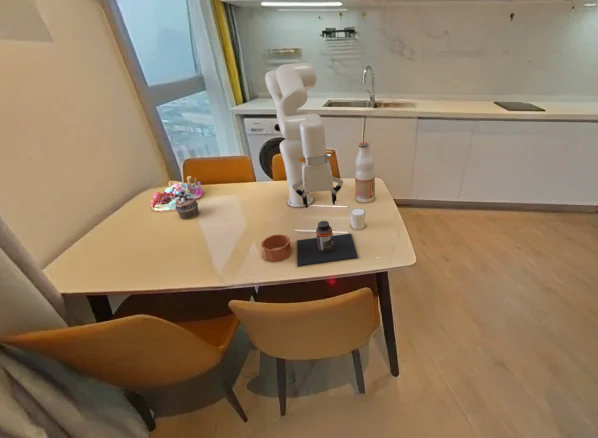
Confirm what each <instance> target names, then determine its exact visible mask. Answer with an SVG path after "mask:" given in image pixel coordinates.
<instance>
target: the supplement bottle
mask: <svg viewBox="0 0 598 438" xmlns="http://www.w3.org/2000/svg"><path fill="white" fill-rule="evenodd" d="M315 230H316V231H315V232H316V238H317V241H318V248H319V250H320V251H322V252H329V251H331V250H332V249H333V247H334V244H333V236H334V235H333V228H332V226H330V223H329V221H328V220H321V221H318V223H317V227H316V229H315Z"/></svg>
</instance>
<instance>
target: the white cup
mask: <svg viewBox="0 0 598 438" xmlns="http://www.w3.org/2000/svg"><path fill="white" fill-rule="evenodd" d="M349 219H350V225H351V228H352V229H353V230H362V229H364V228H365V227H366V210H365V209H364V208H361V207H355V208H352V209H350V210H349Z"/></svg>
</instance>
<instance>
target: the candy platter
mask: <svg viewBox="0 0 598 438" xmlns="http://www.w3.org/2000/svg"><path fill="white" fill-rule="evenodd" d="M186 180H187V181H185V182H183V181H181V180H180V181H179V180H177V181H176V180H169V181H168V187H165V188H164V189H165V190H164V191H161V192H160V191H156V192H154V193H153V195H152V199H151V200H150V203H151V204H150V207H151V209H152V210H153V211H154V212H155V211H156V212H171V211H172V212H173V211H176V205H175V203H176V201H177V200H176V198H177V196H181V195H183V194H185V193H186V194H187V195H190V196H192V197H193V199H194V200H198V199H199V198H201V197H203V195H204V194H205V192H204V188H202V183H201V182H200V181H197V177H193V178H192V176H191V175H189V176H186Z"/></svg>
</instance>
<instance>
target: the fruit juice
mask: <svg viewBox="0 0 598 438" xmlns="http://www.w3.org/2000/svg"><path fill="white" fill-rule="evenodd" d="M370 146H371V145H370V142H367V141H363V142H359V143H358V148H359V149H358V153H357V156H356V157H355V159H354V165H355V171H354V181H355V184H354V185H355V198H356V201H358V202H359V203H362V204H363V203H365V204H367V203H372V202H374V201H375V198H376V181H375V180H376V179H375V178H376V175H375V173H376V172H375V168H374V166H375V159H374V157H373V155H372V153H371V150H370Z"/></svg>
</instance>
